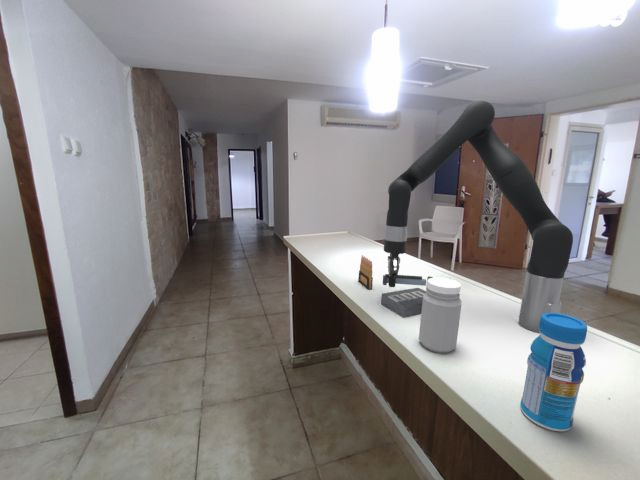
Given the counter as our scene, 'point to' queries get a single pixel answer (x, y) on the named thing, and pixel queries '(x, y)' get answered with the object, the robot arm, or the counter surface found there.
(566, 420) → the beverage bottle
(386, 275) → the bar
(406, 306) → the grey block
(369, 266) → the ammunition clip
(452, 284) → the jar
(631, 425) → the counter surface
